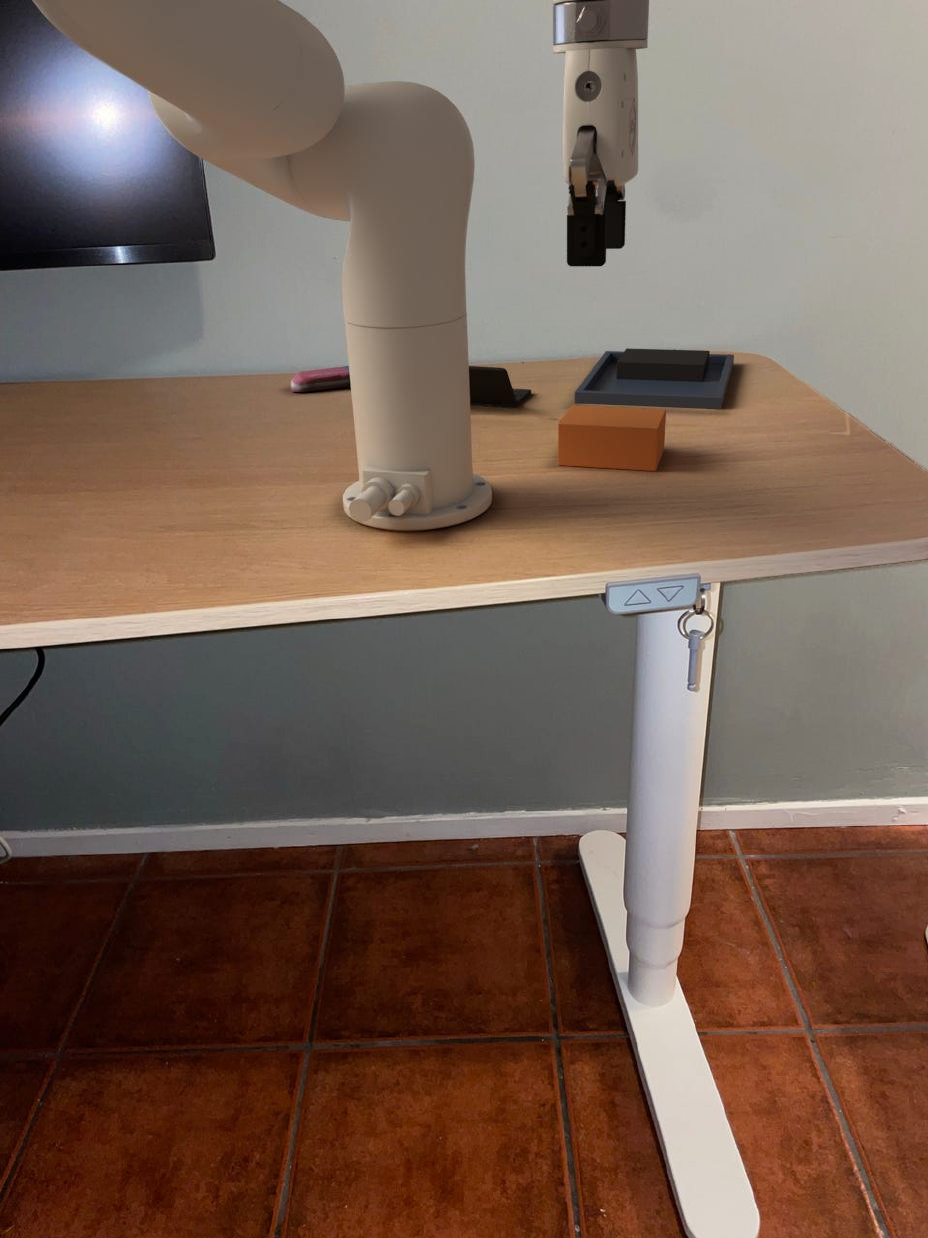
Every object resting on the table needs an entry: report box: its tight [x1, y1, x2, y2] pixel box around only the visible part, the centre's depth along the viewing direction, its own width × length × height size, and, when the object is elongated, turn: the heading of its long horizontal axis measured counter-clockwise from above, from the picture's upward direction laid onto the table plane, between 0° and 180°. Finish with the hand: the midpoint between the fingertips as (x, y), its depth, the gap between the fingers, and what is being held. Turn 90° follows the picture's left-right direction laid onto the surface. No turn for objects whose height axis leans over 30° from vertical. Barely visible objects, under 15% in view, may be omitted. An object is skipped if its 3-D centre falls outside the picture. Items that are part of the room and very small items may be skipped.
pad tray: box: [574, 350, 735, 410], centre depth 115 cm, size 20×16×2 cm
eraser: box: [290, 365, 351, 393], centre depth 121 cm, size 11×4×2 cm, turn 104°
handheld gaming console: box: [469, 365, 532, 409], centre depth 110 cm, size 12×7×10 cm
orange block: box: [557, 405, 667, 472], centre depth 93 cm, size 6×9×4 cm, turn 73°
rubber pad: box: [616, 347, 711, 382], centre depth 118 cm, size 7×10×2 cm
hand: (597, 256), depth 87 cm, fingers open, 9 cm apart
